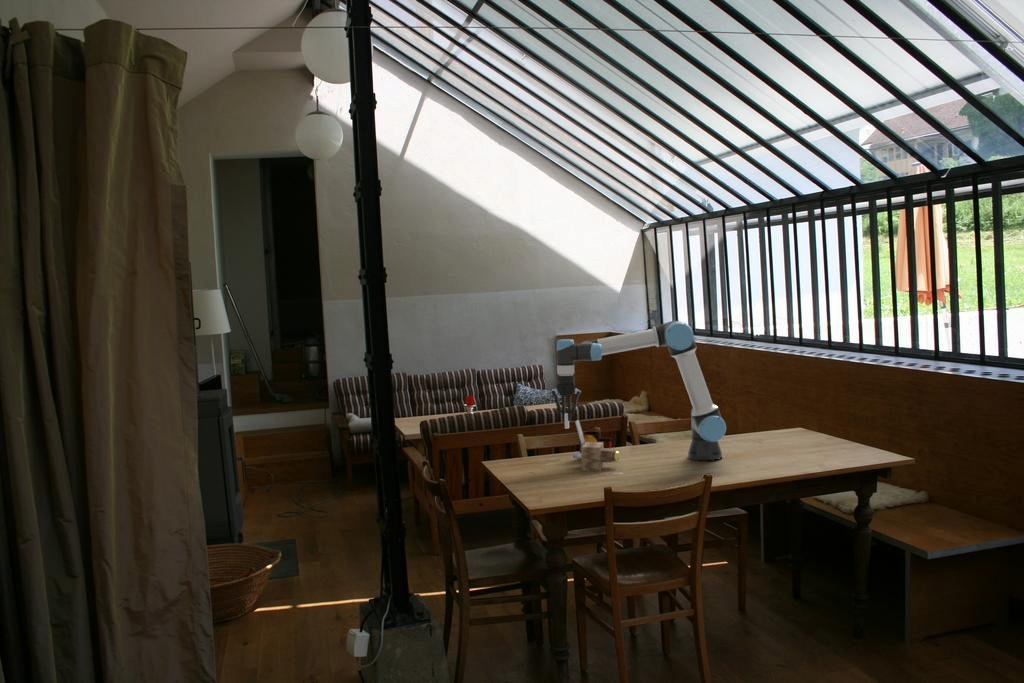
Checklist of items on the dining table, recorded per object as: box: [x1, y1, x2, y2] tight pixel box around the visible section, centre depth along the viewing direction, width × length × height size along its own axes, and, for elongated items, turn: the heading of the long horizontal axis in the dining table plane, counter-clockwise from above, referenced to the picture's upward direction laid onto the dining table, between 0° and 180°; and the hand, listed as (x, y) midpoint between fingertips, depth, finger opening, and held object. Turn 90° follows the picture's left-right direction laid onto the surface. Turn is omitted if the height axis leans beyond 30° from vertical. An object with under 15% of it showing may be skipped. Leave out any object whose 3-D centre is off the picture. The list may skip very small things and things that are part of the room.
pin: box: [572, 450, 620, 463], centre depth 366 cm, size 20×5×5 cm, turn 75°
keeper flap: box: [574, 419, 585, 444], centre depth 367 cm, size 10×4×1 cm
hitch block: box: [580, 441, 615, 472], centre depth 365 cm, size 14×12×11 cm
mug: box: [578, 430, 612, 461], centre depth 384 cm, size 10×14×12 cm
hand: (567, 428), depth 368 cm, fingers closed
